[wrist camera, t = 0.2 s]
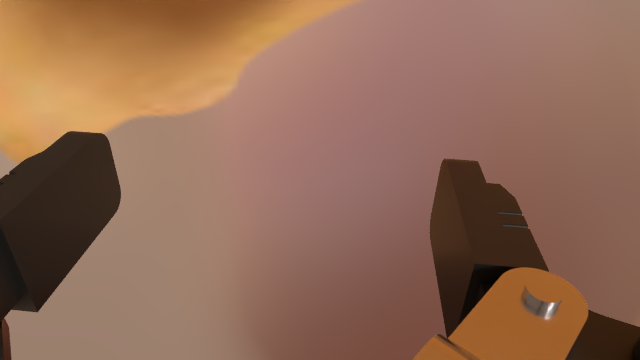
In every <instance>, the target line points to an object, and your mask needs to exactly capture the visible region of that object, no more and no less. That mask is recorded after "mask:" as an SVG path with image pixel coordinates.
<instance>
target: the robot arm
mask: <svg viewBox="0 0 640 360" xmlns="http://www.w3.org/2000/svg"><path fill="white" fill-rule="evenodd" d="M120 198H121V190H120V185H119V181H118V176H117V172H116V168H115V164H114V160H113V156H112V151H111V147H110V143H109V141H108V139H107V137H106V136H105V135H104V134H102V133H90V132H76V131H70V132H67V133H66V134H65V135H63V136H62V137H61V138H60V139H58V140H57V141H56V142H55V143H53V144H52V145H51V146H50V147H48V148H47V149H46V150H45V151H43V152H41V153H38V154H36V155H34V156H32V157H30V158H28V159H25V160H24V161H23V162H21V163H20V164H19V165H18V166H16V167H15V168H14V169H13V170H11V171H10V172H9V175H5V176H4V177H3V178H1V179H0V360H11V346H10V333H9V326H8V324H7V322H6V320H5V319H4V317H5V316H6V315H7V314H8V312H9V311H10V310H21V311H31V312H38V311H39V310H40V308H41V307H42V306H43V305H44V303H45V302H46V301H47V299H48V298H49V297H50V296H51V294H52V293H53V292H54V291H55V289H56V288H57V287H58V286H59V284H60V283H61V282H62V280H63V279H64V278H65V277H66V275H67V274H68V273H69V272H70V270H71V269H72V268H73V266H74V265H75V264H76V263H77V261H78V260H79V259H80V258H81V256H82V255H83V254H84V252H85V251H86V250H87V249H88V247H89V246H90V245H91V244H92V242H93V241H94V240H95V238H96V237H97V236H98V235H99V233H100V232H101V231H102V230H103V228H104V227H105V226H106V225H107V223H108V222H109V221H110V220H111V218H112V217H113V216H114V214H115V213H116V212H117V210H118V207H119V204H120ZM430 240H431V246H432V252H433V258H434V264H435V270H436V276H437V282H438V288H439V294H440V299H441V306H442V312H443V318H444V324H445V330H446V336H447V338H445V337H444V336H442V335H440V334H438V335H436V336H434V337H433V338H432V339H431V340H430V341H429V342H428V343H427V344H426V345H425V346H424V347H423V348H422V349H421V351H420V352H419V353H418V354H417V355H416V356H415V358H413V360H640V327H637V326H634V325H631V324H628V323H624V322H621V321H618V320H615V319H612V318H609V317H605V316H603V315H600V314H597V313H595V312H592V311H590V310H588V307H587V304H586V301H585V299H584V298H583V296H582V295H581V294H580V293H579V291H578V290H577V289H576V288H575V287H574V286H572V285H571V284H570V283H568V282H567V281H565V280H564V279H562V278H561V277H559V276H557V275H554V274H552V273H550V272H549V271H548V268H547V266H546V264H545V261H544V259H543V257H542V255H541V253H540V251H539V248H538V247H537V244H536V242H535V240H534V238H533V236H532V233H531V231H530V229H528V225H527V223H526V220H525V218H524V216H522V212H521V210H520V207H519V205H518V203H517V201H516V199H515V197H514V196H512V195H511V194H510V193H509V192H508V191H507V190H506V189H505V188H503V187H502V186H501V185H500V184H491V183H486V181H485V178H484V175H483V173H482V170H481V168H480V165H479V163H478V162H477V161H469V160H455V159H444V160H443V161H442V164H441V167H440V172H439V177H438V183H437V187H436V193H435V198H434V203H433V208H432V213H431V220H430Z"/></svg>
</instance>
